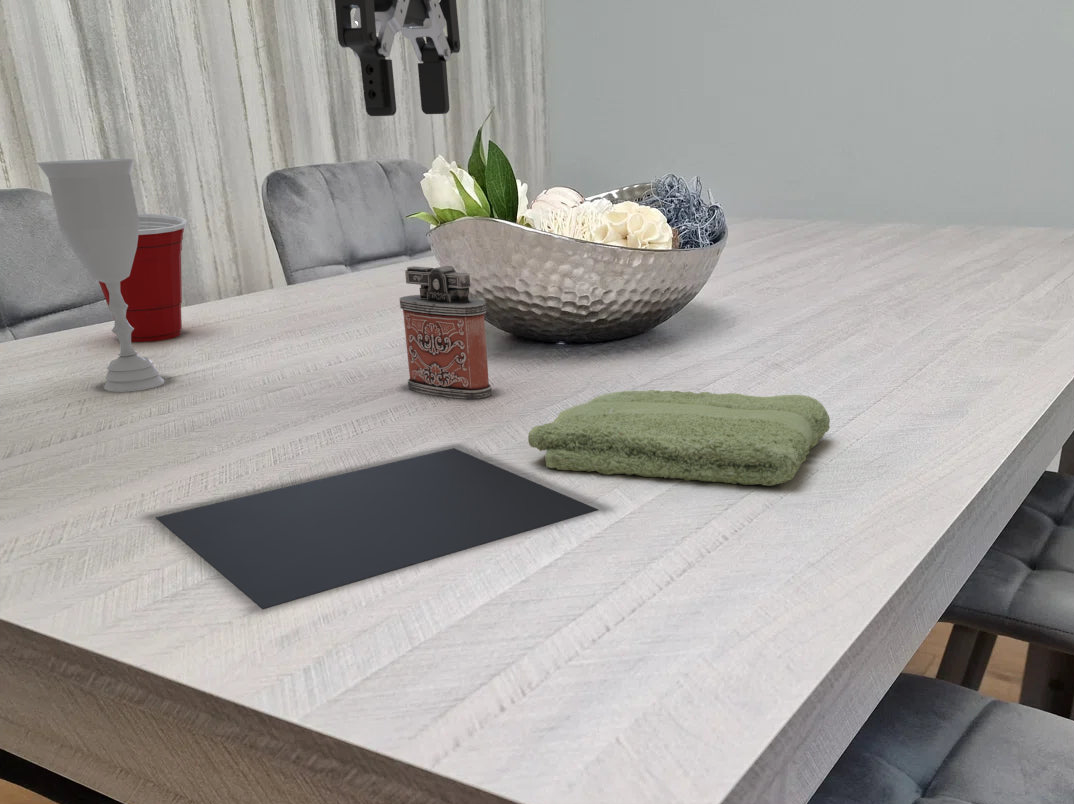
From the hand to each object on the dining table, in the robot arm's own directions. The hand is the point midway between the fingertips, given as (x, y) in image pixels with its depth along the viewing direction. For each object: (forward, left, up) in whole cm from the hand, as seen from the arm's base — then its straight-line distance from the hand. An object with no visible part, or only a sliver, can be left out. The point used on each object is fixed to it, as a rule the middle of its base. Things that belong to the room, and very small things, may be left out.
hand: (409, 115), depth 81 cm
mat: (-19, -27, -21) cm, 39 cm away
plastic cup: (-12, +37, -21) cm, 44 cm away
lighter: (-1, -5, -21) cm, 22 cm away
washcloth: (+2, -30, -21) cm, 37 cm away
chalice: (-20, +16, -21) cm, 33 cm away
